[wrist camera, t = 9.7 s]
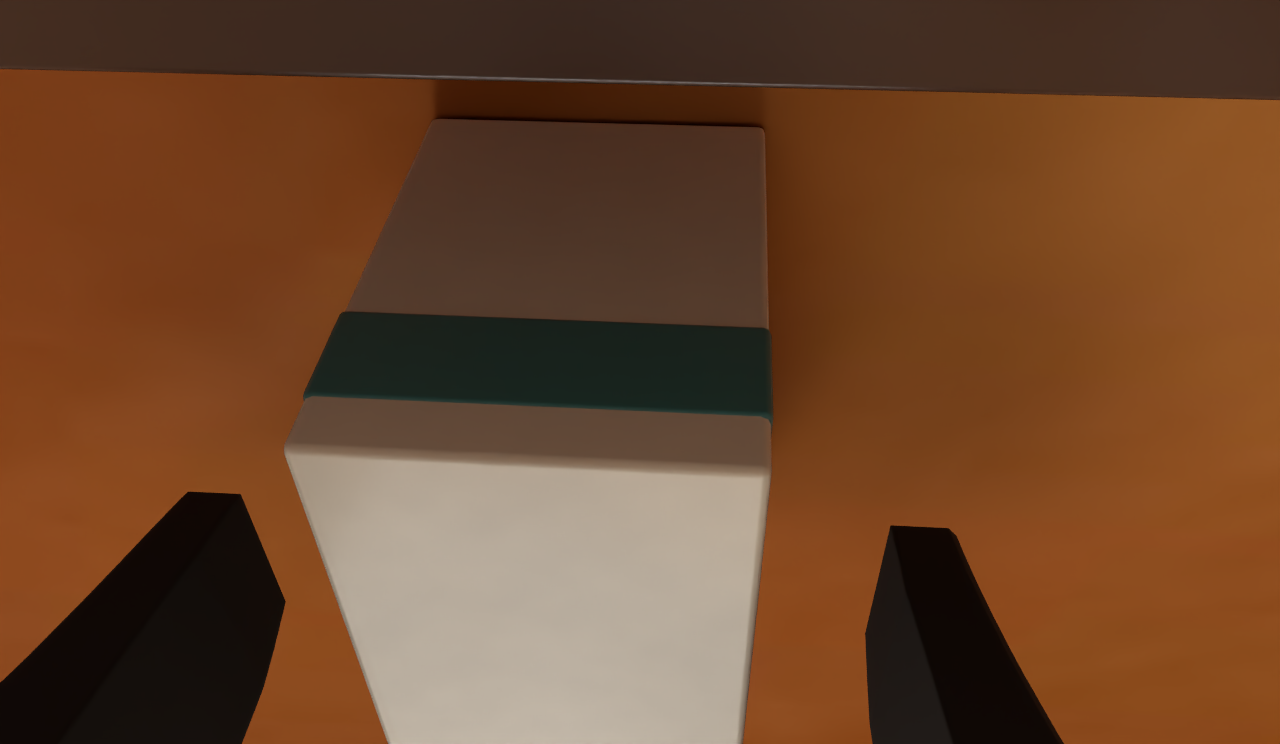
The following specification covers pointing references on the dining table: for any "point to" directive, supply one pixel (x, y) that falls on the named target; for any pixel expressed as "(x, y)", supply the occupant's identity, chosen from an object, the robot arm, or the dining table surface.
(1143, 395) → the dining table surface
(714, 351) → the tea box
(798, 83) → the walnut shelf
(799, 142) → the dining table surface
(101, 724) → the robot arm
